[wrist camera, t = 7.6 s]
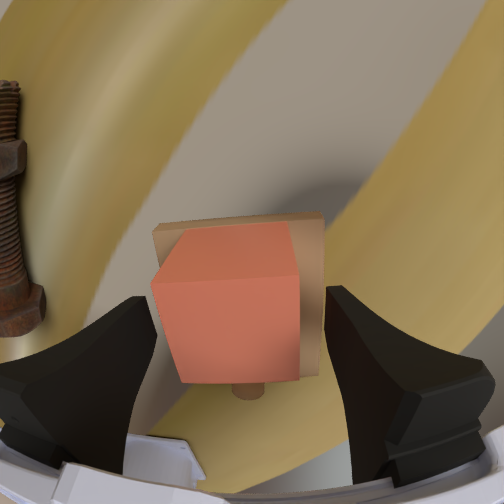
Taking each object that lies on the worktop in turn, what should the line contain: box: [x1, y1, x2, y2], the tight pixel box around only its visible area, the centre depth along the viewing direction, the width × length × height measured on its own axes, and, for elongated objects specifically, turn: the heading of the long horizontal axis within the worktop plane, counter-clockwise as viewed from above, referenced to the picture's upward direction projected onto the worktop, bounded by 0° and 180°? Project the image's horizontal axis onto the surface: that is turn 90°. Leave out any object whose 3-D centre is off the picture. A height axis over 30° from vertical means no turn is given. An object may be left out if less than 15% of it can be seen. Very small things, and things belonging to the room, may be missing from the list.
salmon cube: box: [151, 221, 300, 384], centre depth 12 cm, size 5×5×5 cm
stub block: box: [152, 211, 324, 400], centre depth 15 cm, size 10×8×4 cm
